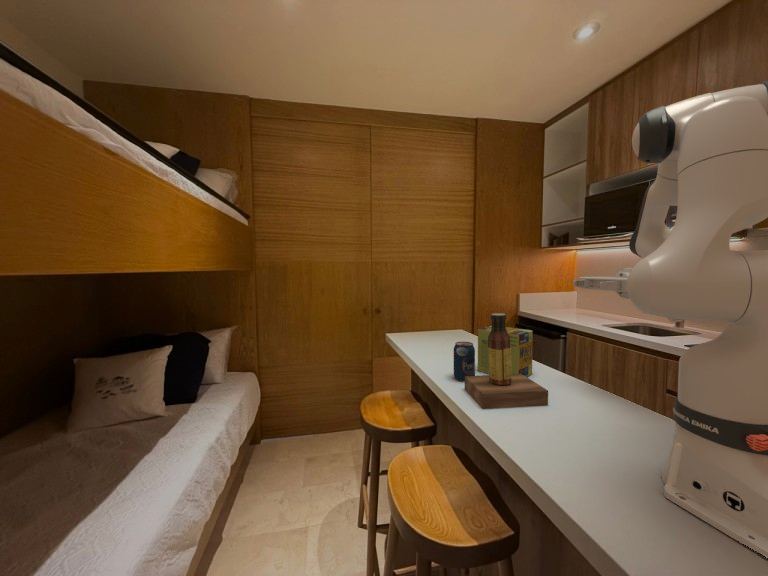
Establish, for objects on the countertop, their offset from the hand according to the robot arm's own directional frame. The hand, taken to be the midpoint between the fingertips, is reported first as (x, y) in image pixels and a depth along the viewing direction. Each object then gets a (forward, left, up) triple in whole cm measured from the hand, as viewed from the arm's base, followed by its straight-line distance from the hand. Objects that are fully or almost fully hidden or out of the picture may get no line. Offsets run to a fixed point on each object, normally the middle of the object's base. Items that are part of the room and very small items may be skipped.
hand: (586, 284), depth 90 cm
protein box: (+22, +13, -32) cm, 41 cm away
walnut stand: (+2, +23, -32) cm, 40 cm away
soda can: (+18, +29, -32) cm, 47 cm away
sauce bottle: (+2, +24, -28) cm, 37 cm away
